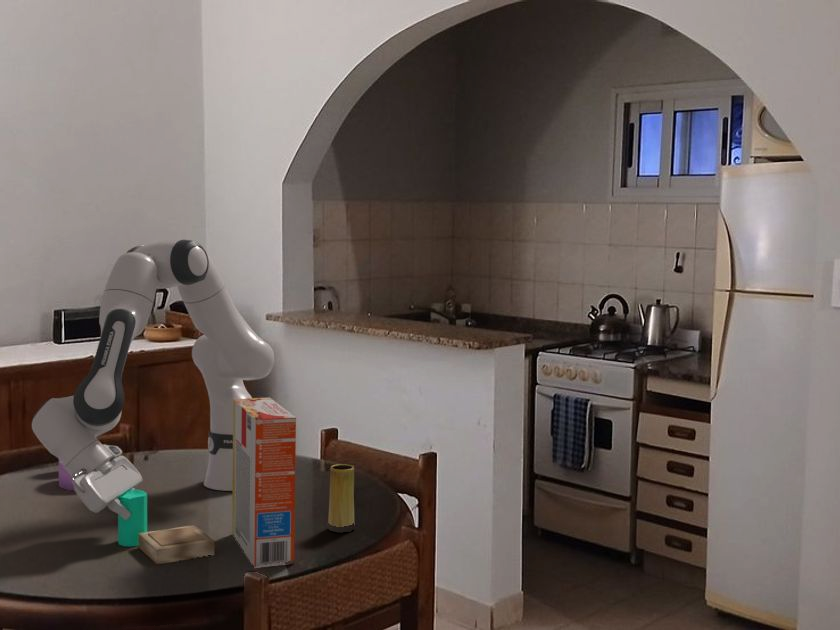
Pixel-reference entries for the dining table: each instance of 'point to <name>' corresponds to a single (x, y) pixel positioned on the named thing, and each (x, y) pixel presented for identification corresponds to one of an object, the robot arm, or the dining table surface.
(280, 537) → the cereal box
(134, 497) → the candle
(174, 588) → the dining table surface
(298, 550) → the dining table surface
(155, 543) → the base block
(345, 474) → the vase
